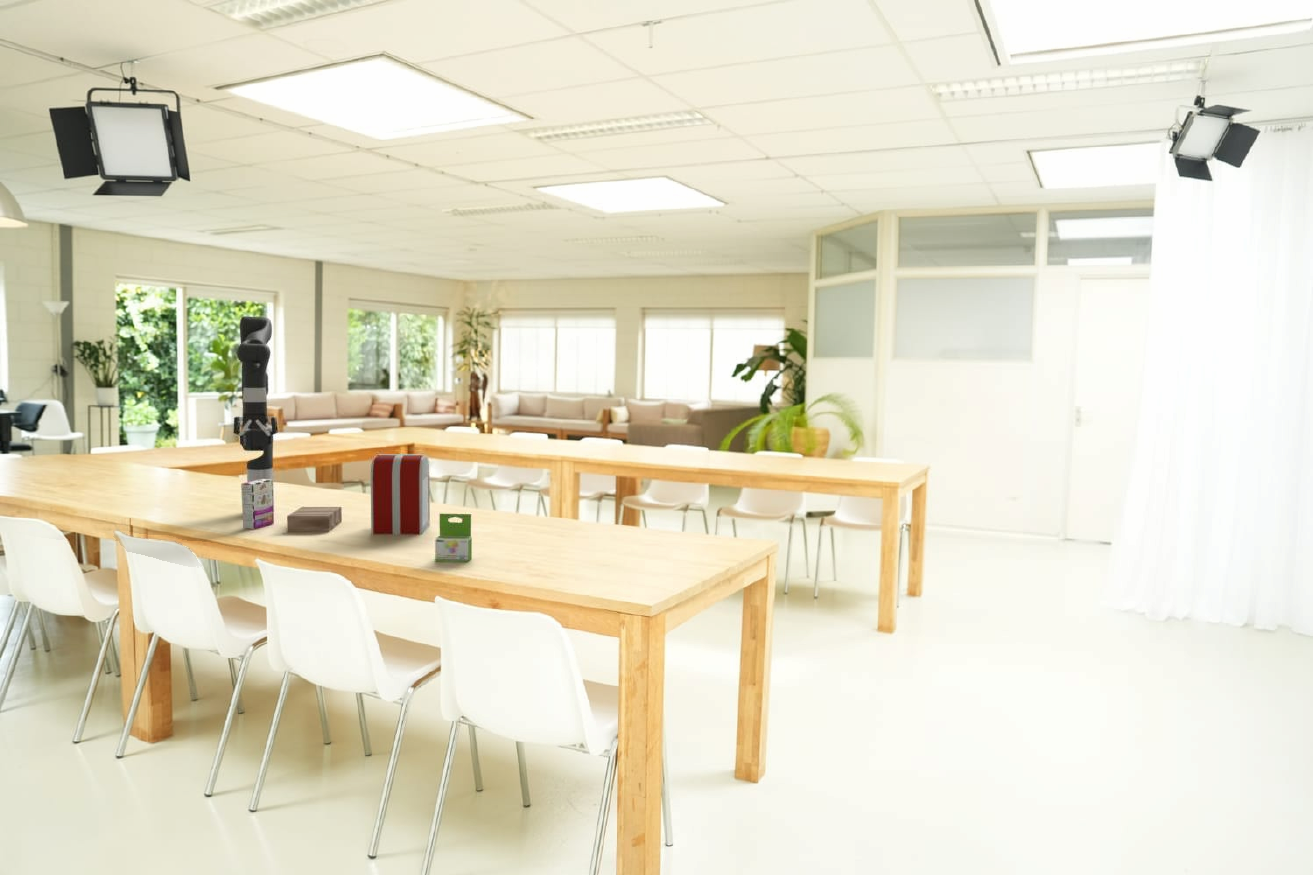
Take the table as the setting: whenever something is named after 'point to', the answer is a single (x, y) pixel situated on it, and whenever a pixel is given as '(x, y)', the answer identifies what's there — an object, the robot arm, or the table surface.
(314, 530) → the walnut block
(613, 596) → the table surface
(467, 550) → the ink box
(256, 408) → the robot arm
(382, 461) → the red grey rounded block
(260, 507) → the candy bar box
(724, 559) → the table surface
